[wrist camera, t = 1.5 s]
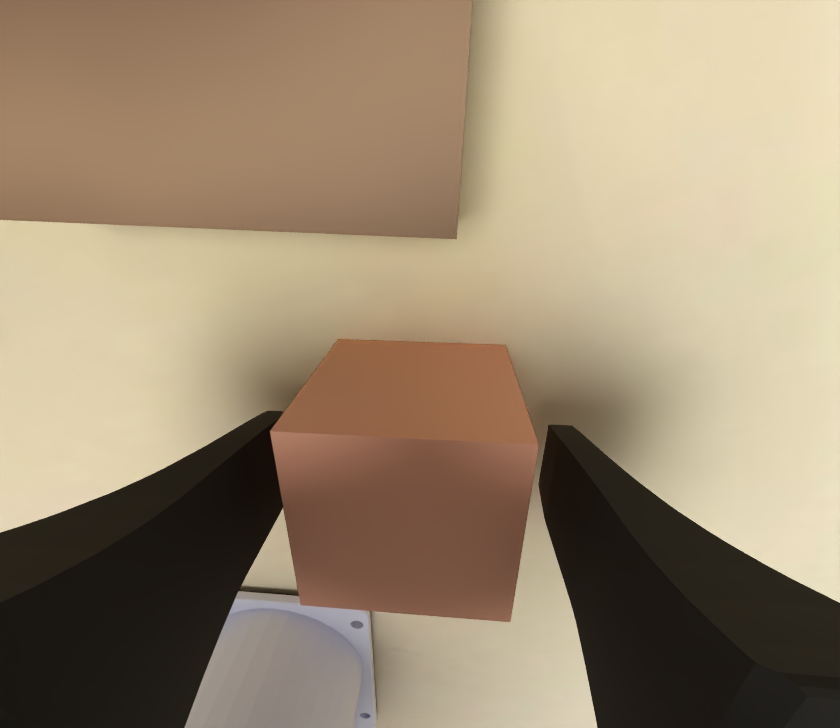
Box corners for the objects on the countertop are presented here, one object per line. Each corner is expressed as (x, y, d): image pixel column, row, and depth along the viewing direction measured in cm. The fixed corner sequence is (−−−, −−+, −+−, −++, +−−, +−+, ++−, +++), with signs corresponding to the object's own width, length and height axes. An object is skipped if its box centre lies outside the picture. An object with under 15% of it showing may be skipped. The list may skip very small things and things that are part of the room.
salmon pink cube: (490, 477, 14) (509, 621, 9) (349, 469, 14) (300, 605, 10) (505, 344, 12) (538, 444, 7) (338, 338, 12) (269, 431, 7)
